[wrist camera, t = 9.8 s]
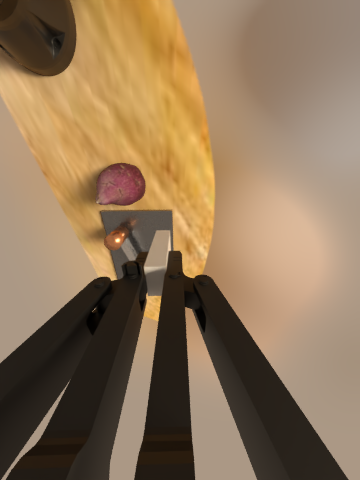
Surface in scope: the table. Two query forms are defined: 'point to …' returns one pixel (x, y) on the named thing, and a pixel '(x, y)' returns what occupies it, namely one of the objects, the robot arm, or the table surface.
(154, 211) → the base
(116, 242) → the lever
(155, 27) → the table surface
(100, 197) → the vegetable
